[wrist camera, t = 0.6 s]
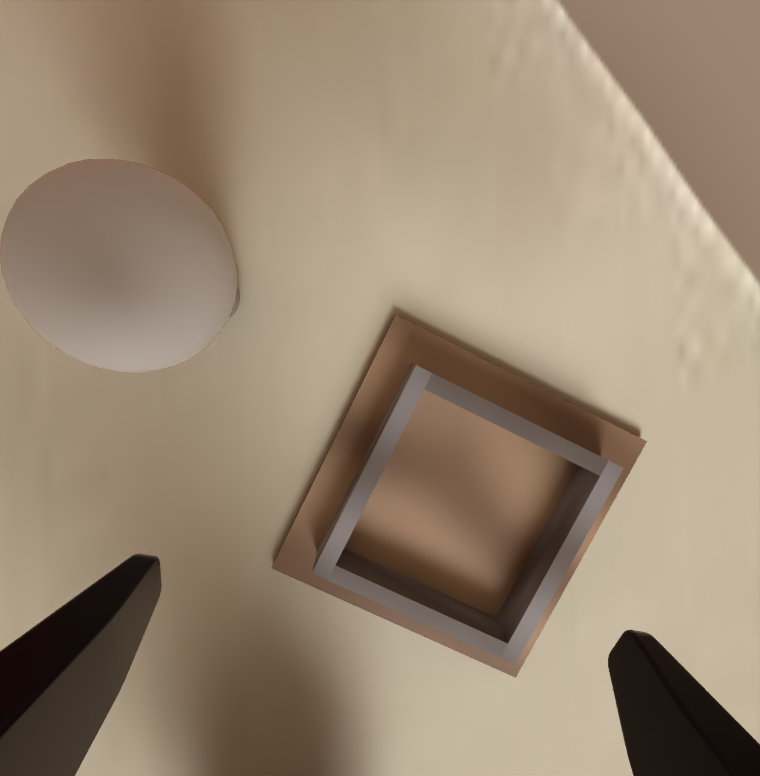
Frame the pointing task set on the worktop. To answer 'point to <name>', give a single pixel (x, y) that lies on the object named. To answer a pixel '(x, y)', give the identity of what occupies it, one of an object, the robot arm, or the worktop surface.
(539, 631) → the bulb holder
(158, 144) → the worktop surface
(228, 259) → the lightbulb
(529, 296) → the worktop surface
